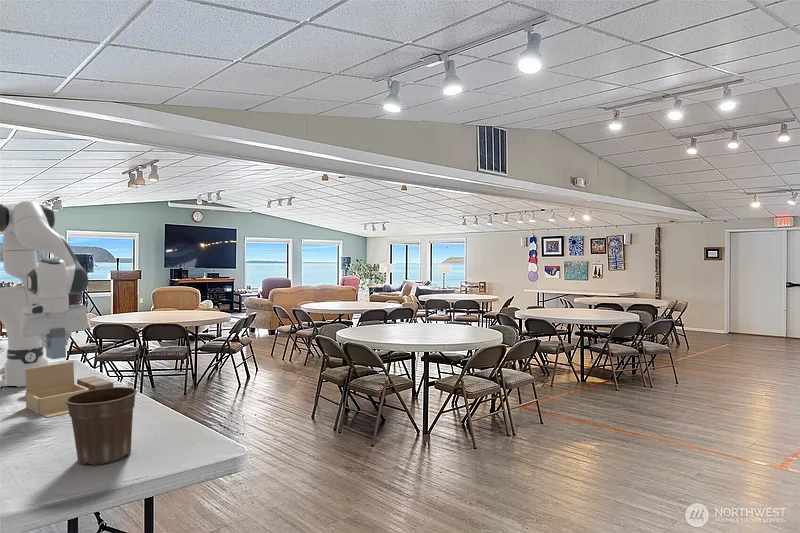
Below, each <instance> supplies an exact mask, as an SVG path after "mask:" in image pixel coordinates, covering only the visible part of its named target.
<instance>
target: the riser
mask: <svg viewBox="0 0 800 533" xmlns="http://www.w3.org/2000/svg"><path fill="white" fill-rule="evenodd" d="M76 384H78V385H81V386H83V387H86V388H88V389H89V391H90V390H95V389H102V388H112V387H114V382H113V381H110V380H106V379H104V378H100V377H99V376H96V375H94V376H93V375H92V376H88V377H84V378H83V377H82V378H77V380H76Z"/></svg>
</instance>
